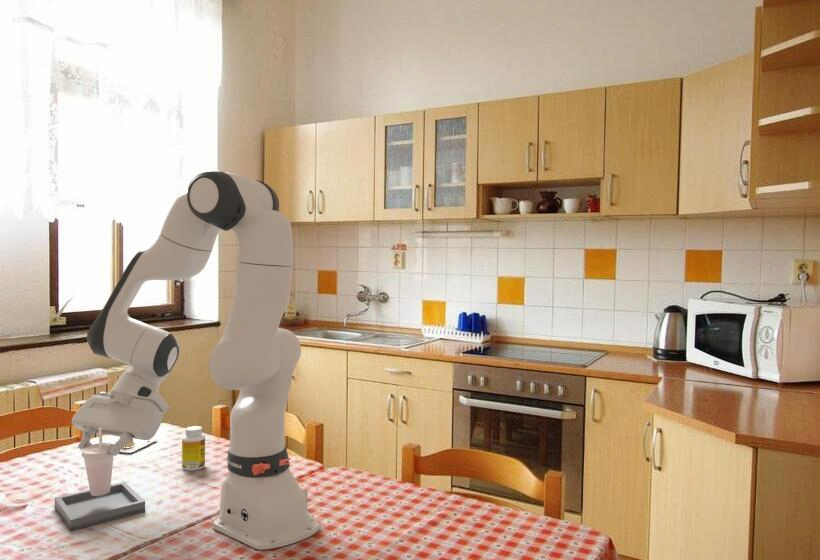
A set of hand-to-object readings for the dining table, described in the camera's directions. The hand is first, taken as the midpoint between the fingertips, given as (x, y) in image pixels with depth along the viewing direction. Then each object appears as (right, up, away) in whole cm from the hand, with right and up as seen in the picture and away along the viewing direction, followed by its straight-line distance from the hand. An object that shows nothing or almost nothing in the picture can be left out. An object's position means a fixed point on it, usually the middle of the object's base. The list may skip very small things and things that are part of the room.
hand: (96, 451), depth 125 cm
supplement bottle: (+11, -12, +27) cm, 31 cm away
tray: (0, -13, +1) cm, 13 cm away
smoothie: (0, -9, +1) cm, 9 cm away
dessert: (-14, -11, +43) cm, 46 cm away
